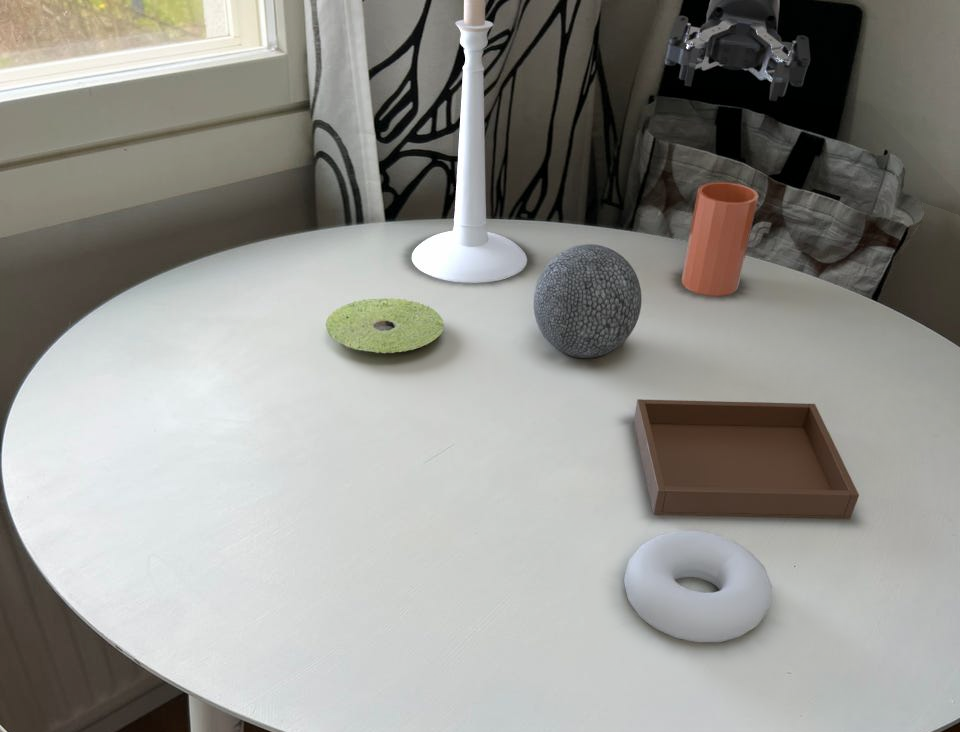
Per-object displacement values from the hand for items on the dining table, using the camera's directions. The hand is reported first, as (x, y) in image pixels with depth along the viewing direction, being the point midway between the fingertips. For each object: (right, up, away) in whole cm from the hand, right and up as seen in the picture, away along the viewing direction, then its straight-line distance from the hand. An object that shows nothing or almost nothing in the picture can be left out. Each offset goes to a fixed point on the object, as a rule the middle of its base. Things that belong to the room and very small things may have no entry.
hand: (732, 83), depth 93 cm
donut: (-10, -52, -27) cm, 60 cm away
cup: (0, -17, +9) cm, 19 cm away
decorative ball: (-15, -27, -1) cm, 31 cm away
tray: (-4, -41, -16) cm, 44 cm away
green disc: (-34, -26, -1) cm, 43 cm away
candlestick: (-26, -13, +13) cm, 32 cm away
